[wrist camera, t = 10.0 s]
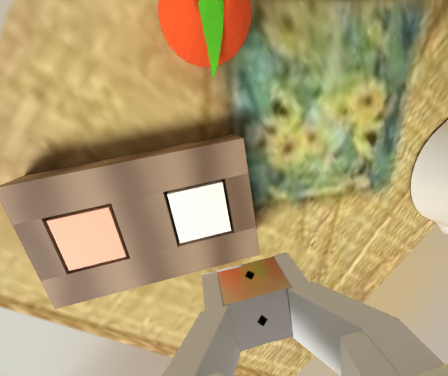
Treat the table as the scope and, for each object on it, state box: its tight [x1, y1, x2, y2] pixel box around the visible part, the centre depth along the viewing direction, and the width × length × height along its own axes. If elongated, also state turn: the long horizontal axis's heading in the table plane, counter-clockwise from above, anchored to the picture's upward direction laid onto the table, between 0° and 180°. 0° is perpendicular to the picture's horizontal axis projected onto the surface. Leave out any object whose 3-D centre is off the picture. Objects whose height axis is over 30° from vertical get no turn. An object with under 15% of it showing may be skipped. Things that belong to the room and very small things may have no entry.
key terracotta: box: [47, 204, 128, 271], centre depth 23 cm, size 5×5×3 cm
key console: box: [0, 134, 260, 309], centre depth 24 cm, size 20×12×4 cm, turn 100°
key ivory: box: [167, 179, 231, 243], centre depth 24 cm, size 5×5×3 cm
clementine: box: [158, 0, 251, 80], centre depth 19 cm, size 8×7×7 cm
